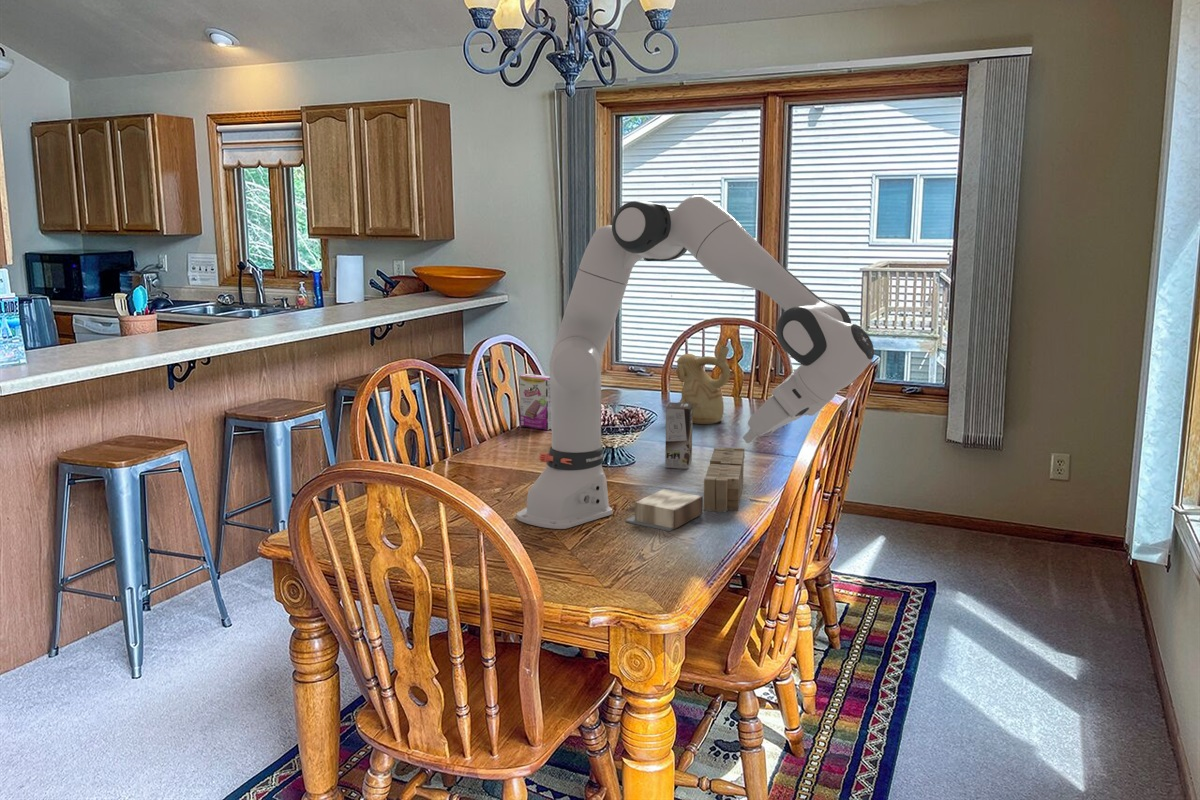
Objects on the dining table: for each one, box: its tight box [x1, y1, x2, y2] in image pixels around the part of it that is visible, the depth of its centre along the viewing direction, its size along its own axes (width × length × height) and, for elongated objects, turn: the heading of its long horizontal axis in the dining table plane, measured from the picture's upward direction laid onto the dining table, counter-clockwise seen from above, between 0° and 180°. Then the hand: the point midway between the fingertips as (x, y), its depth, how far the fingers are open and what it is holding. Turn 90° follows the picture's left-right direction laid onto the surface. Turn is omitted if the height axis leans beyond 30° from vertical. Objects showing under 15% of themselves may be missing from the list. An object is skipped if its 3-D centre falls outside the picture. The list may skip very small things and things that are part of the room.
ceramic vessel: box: [675, 345, 731, 425], centre depth 297 cm, size 17×20×25 cm
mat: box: [625, 515, 674, 532], centre depth 202 cm, size 14×11×1 cm
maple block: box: [634, 488, 704, 530], centre depth 201 cm, size 12×4×10 cm
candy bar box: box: [518, 373, 552, 431], centre depth 289 cm, size 11×5×16 cm, turn 58°
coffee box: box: [664, 401, 693, 470], centre depth 245 cm, size 9×6×16 cm
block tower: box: [703, 446, 746, 512], centre depth 220 cm, size 8×8×29 cm
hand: (756, 435), depth 186 cm, fingers open, 8 cm apart
